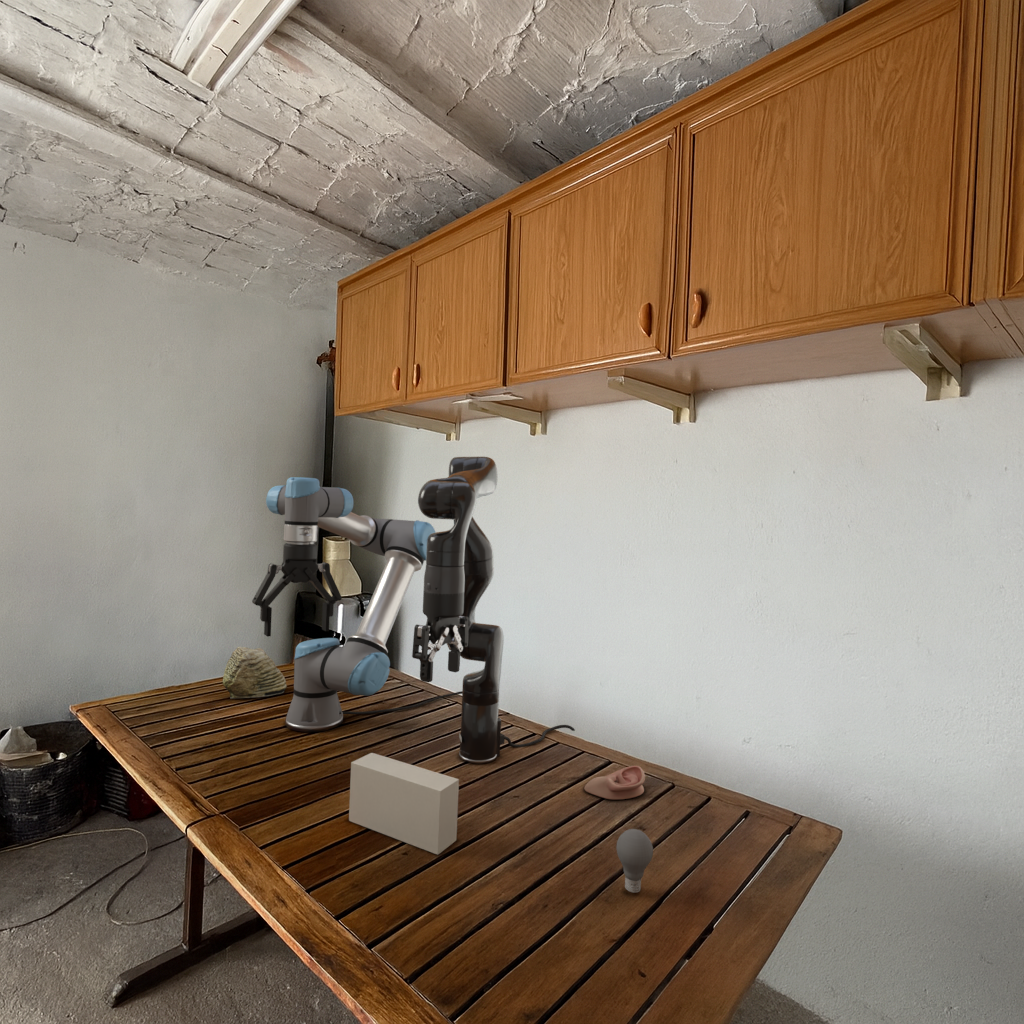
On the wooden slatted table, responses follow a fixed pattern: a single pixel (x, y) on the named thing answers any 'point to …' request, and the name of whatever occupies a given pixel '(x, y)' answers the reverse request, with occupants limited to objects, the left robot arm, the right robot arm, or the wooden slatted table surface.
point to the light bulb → (634, 857)
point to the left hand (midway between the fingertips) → (297, 632)
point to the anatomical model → (618, 784)
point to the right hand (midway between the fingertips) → (440, 676)
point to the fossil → (252, 674)
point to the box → (404, 802)
